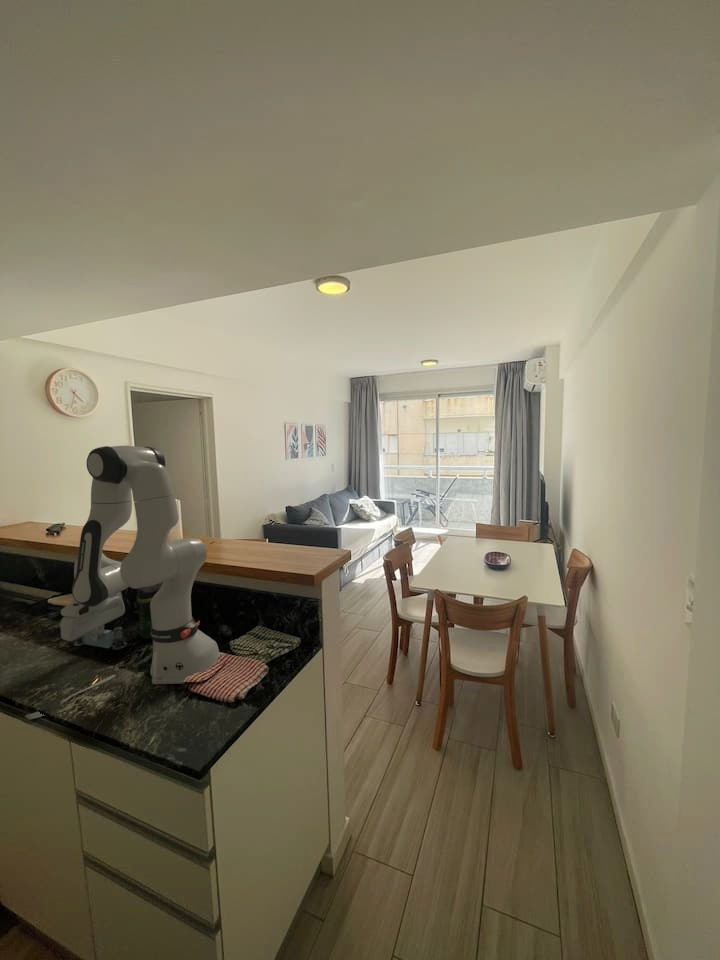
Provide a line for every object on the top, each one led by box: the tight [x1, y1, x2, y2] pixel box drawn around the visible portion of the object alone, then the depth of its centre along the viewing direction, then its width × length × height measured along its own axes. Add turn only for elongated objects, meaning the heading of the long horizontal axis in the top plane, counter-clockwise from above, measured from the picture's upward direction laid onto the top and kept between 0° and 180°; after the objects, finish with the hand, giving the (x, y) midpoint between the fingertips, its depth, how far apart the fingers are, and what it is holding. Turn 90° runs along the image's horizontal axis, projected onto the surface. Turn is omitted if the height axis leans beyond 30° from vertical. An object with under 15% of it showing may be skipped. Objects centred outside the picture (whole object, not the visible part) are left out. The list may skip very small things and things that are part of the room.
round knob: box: [73, 636, 85, 647], centre depth 133 cm, size 4×4×6 cm
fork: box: [24, 674, 117, 720], centre depth 105 cm, size 3×24×2 cm, turn 152°
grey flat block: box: [82, 628, 114, 649], centre depth 130 cm, size 12×2×6 cm, turn 72°
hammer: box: [111, 626, 128, 651], centre depth 130 cm, size 7×5×6 cm
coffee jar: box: [136, 582, 163, 640], centre depth 137 cm, size 10×8×19 cm
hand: (97, 639), depth 127 cm, fingers closed
